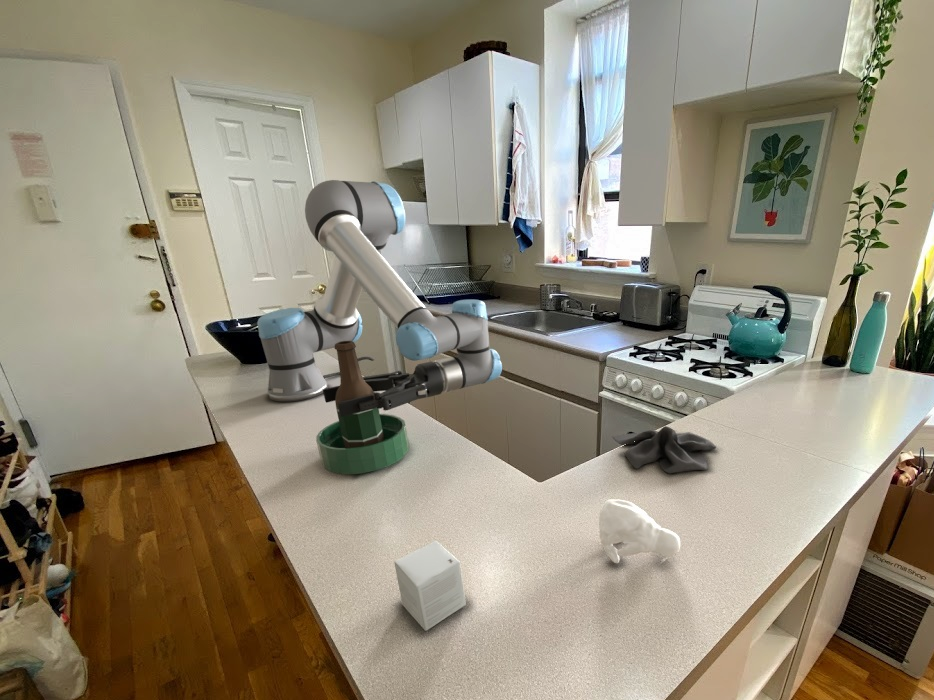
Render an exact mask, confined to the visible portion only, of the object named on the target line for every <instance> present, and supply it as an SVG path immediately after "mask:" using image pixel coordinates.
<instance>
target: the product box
mask: <svg viewBox="0 0 934 700" xmlns="http://www.w3.org/2000/svg"><path fill="white" fill-rule="evenodd" d="M393 563H394V564H393V565H394V568H395V574H396V580H397V584H398V591H399V596H400V599H401V605H402V606H403V607H404V608H405V609H406V611H407V612H408V613H409V614H410V615H411V616H412V618H413V619H414V620H415V621H416V622H417V623H418V625H420V627H421V628H422V629H423V630H424V631H425V632H427V631H429V630H430V629H431V628H433V627H434V626H436V625H437V624H439V623H441V622H442V621H443V620H445V619H447V618H448V617H449V616H451V615H453V614H454V613H455V612H457V611H459V610H460V609H462V608H463V607H465V606H466V605H467V602H466V596H465V589H464V582H463V572H462V565H461V561H460V560H458V558H457V557H455V556H454V555H453V554H452V553H451V552H449V550H447V549H446V548H445V547H444V546H443V545H441V543H439V542H438V541H437V540H433V541H431V542H429V543H428V544H425V545H424V546H422V547H420V548H418V549H416V550H414V551H412V552H410V553H408V554H405V555H404V556H402V557H400V558H398V559H396V560H394V561H393Z"/></svg>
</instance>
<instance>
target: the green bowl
mask: <svg viewBox="0 0 934 700" xmlns="http://www.w3.org/2000/svg"><path fill="white" fill-rule="evenodd" d="M379 414H380V419H381V425H382V430H383V436H384V441H382V442H379V443H376V444H373V445H369V446H363V447H357V448H345V446H344V441H343V437H342V432H341V428H340V423H339V420H338V421H335V422H333V423H331V424H328V425H326V426H325V427H324V428H322V429H321V430H320V431H319V432H318V433H317V434H316V437H315V438H316V439H315V441H316V445H317V449H318V454H319V458H320V462H321V465H322V467H323V468H324V469H325V470H327V471H329V472H331V473H336V474H341V475H357V474H366V473H370V472H375V471H378V470H382V469H385V468H387V467H390V466H391V465H394V464H396V463H398V462H399V461H400V460H402V459H403V458H405V456H406V455H407V453H408V452H409V449H410V444H409V438H408V437H409V436H408V431H407V426H406V425H407V424H406V422H405V420H404V419H402V418H401V417H399V416H398V415H397V416H396V415H394V414H388V413H379Z"/></svg>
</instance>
